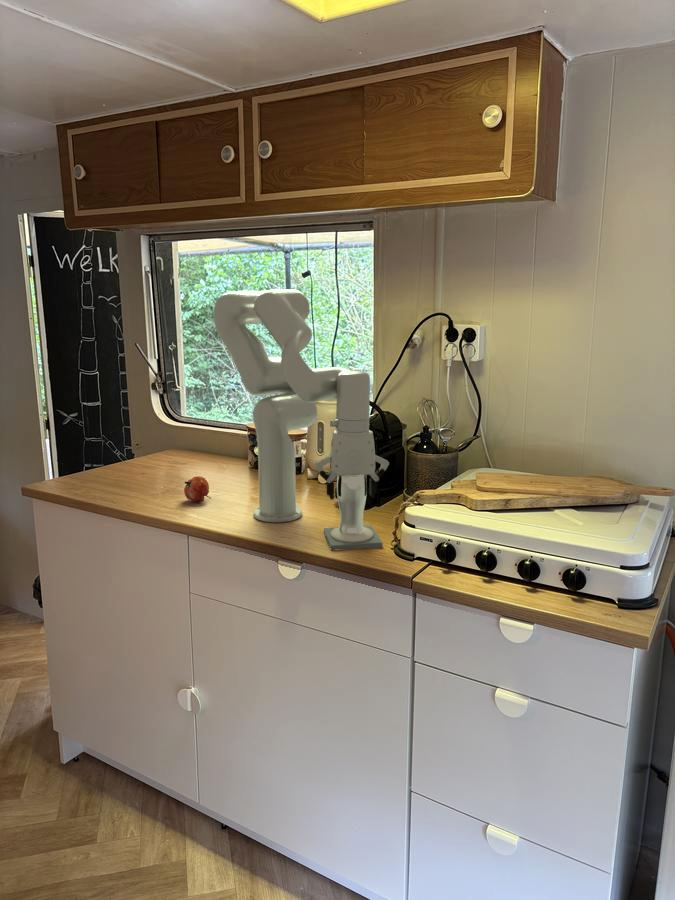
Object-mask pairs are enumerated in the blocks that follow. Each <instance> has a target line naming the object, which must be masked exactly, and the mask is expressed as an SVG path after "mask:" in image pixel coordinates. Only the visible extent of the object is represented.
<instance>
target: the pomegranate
mask: <svg viewBox="0 0 675 900" xmlns="http://www.w3.org/2000/svg"><path fill="white" fill-rule="evenodd" d="M184 484H185V486H184V488H183V491H184V495H185V497H186V499H187V500H189V501H191V502H192V503H196V504H200V503H202V502H204V500H205V497H207V498H209V499H212V497H211V496H209V495H208V494H209V493H210V485H209V481H207V480H206V478H205V477H203V476H194V477H191V478H190V479H188V480H187V481H184Z"/></svg>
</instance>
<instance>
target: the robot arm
mask: <svg viewBox="0 0 675 900" xmlns="http://www.w3.org/2000/svg"><path fill="white" fill-rule="evenodd" d="M310 309H311V307H310V303H309V301H308V298H307V297H306V295H304V293H303V292H301V291H299V290H297V289H269V290H259V291H258V290H238V291H237V290H236V291H235V290H234V291H229V292H226V293H223V294H221V295H220V296H219V297H218V298H217V299H216V301H215V303H214V306H213V321H214V326H215V329H216V331H217V334H218V336H219V338H220V339H221V341H222V342H223V344H224V345H225V347H226V348H227V350H228V352H229V354H230V356H231V358H232V360H233V364H234V365H235V367H236V369H237V371H238V374H239V376H240V379H241V381H242V383H243V385H244V386H245V389H246V391H247V392H248V394H251V395H252V396H257V397H259V396H260V397H261V396H267V397H263V398H262V399H260V400H259V401H258V402H257V403H256V404H255V406H254V407H253V411H252V420H253V423H254V428H255V429H254V430H255V434H256V442H257V458H258V460H257V461H258V497H259V498H258V499H259V504H258V505H259V507H256V508H255V509H254V510H253V517H254V518H255V519H257V520H258V521H261V522H264V523H265V522H267V523H285V522H286V523H287V522H291V521H295V520H298V519H299V518H300V517H301V516H302V515H303V512H302V511H303V510H302V509H301V507H300V506H299V507H298V506H297V503H296V497H297V494H296V493H297V492H296V491H297V489H296V449H295V445H294V442H293V440H292V438H291V437H290V435H289V432H291V431H297V430H301V429H305V428H308V427H310V426H312V425H313V424H314V423H315V422H316V420H317V416H318V409H317V404H316V403H319V402H324V401H333V400H336V415H335V416H336V417H335V419H334V420H330V421H329V427H330V428H332V427H333V428H335V430H334V431H333V432H332V436H331V443H330V454H329V455H328V456H325V457H324V458H322V459H321V460H318V461H317V462H315V463H314V466H315V469H316V470H317V472H318V473H319V475H320V477H321V478H323V479H324V481H326V496H328V497H329V498H330V500H334V499H335V482H334V479H335V478H336V477H338V476H345V475H359V474H362V475H366V476H370V478H369V480H368V485H369V486H368V494H369V496H370V498H372V499H375V498H376V496H375V495H376V494H377V493H378V482H379V480H380V478H381V477H383V476H384V474H385V473H386V470H387V469H388V467H389V465H390V462H389V461H388V460H387V459H385V458H383V457H380V456H379V455H376V450H375V439H374V437H375V436H374V432H373V431H372V430H370V399H371V398H370V397H371V396H370V395H371V394H370V393H371V391H370V390H371V389H370V388H371V379H370V378H371V377H370V375H369V373H367V372H365V371H362V370H350V369H347V368H345V367H339V366H332V367H321V368H313V369H311V368H310V366H308V364H307V362H306V361H305V360H304V358H303V357H302V356H301V352H302V351H303V350H305V349H306V348H307V346H308V345H309V344H310V343H311V340H312V336H313V332H312V330H311V327H310V326H308V324H307V323H306V321H305V320H307V318H308V317H309V314H310ZM247 325H263V326H264V327H265V329H266V330H267V331H268V332H269V334H270V335H271V337H272V338H273V340H274V341H275V343H276V344H277V345H278V346H279V348H280V349H281V354H280V356H274V357H271V356H269V354H267V352H266V350H265V349H264V346H263V344H262V341H261V340H260V338H259V337H258V336H257V335H256V334H255V333H254V332H253V331H251V330H250V329H249V328H248V327H247ZM269 395H270V396H269ZM376 463H377V464H380V467H379V468H378V469H377V470H376ZM328 464H329V468H330V470H329V471H328V472H326V471H325V470H324V469H323V467H324V466H326V465H328Z"/></svg>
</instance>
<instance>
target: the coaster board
mask: <svg viewBox="0 0 675 900" xmlns="http://www.w3.org/2000/svg"><path fill="white" fill-rule="evenodd" d="M363 526H364V534H363V535H360V536H356V537H348V536H343V535H341V534H340V533H339V527H340V526H339V527H337V526H336V527H323V535H324V534H325V535H324V537H325V540H326V539H327V540H326V542H327V541H328V542H327V544H329V545H328V546H330V547H329V549H330V548H331V549H330V551H336V550H335V549H348V550H353V549H352V548H366V549H380V547H382V548H383V541H382V540H381V537H380V536H379V535H378V533H377V531H376V530H375V528H374V527H373V525H363Z"/></svg>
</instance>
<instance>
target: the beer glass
mask: <svg viewBox="0 0 675 900" xmlns="http://www.w3.org/2000/svg"><path fill="white" fill-rule="evenodd" d="M367 481H368V480H367V475H362V474H359V475H345V476H337V481H336V482H337V483H336V496H337V502H338V507H339V514H340V521H339V533H340V534H341V535H343V536H348V537H356V536H360V535H363V534H364V526H365V525H364V512H365V506H366V501H367V496H368V495H367V493H368V486H367V485H368V484H367Z"/></svg>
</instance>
